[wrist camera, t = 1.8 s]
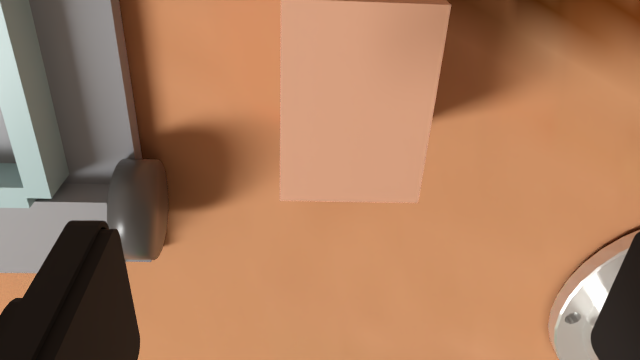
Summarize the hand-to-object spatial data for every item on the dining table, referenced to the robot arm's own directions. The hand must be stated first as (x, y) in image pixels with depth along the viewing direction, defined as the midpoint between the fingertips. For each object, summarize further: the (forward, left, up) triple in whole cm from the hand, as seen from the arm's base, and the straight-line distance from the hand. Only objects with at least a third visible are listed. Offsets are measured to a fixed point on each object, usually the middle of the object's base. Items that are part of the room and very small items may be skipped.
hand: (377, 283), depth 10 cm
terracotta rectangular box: (0, 0, -15) cm, 15 cm away
